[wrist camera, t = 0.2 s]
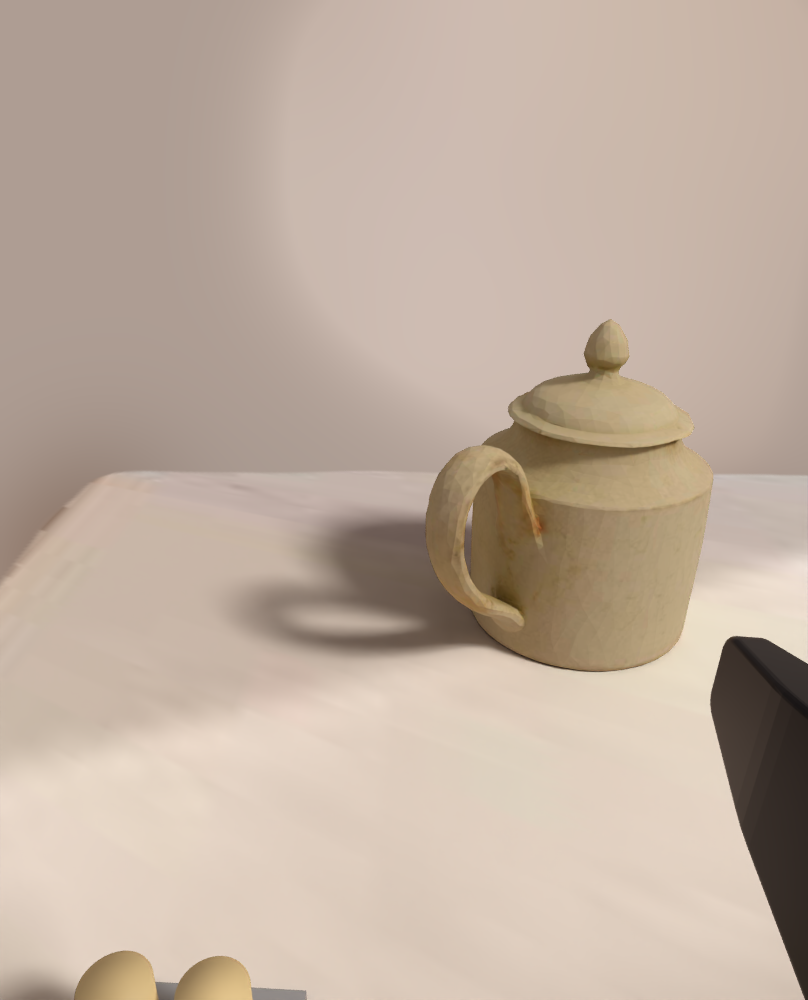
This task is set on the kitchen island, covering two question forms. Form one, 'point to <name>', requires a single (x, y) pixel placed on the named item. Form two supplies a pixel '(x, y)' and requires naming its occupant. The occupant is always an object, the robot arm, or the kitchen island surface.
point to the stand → (198, 996)
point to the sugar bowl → (577, 519)
